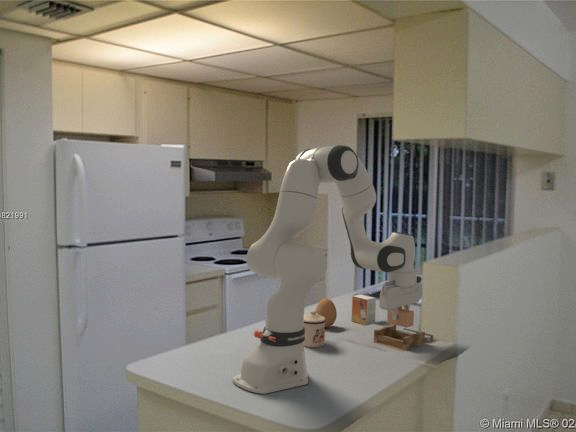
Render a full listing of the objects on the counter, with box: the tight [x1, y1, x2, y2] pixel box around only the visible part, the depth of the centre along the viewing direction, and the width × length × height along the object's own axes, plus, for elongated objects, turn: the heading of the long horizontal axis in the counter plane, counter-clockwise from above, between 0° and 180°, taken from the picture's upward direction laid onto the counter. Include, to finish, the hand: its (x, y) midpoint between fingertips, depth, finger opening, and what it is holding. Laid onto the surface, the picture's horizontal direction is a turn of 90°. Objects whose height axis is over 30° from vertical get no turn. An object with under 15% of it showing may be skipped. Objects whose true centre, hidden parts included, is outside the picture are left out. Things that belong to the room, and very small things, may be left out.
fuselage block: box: [386, 306, 415, 329], centre depth 189 cm, size 4×8×6 cm, turn 44°
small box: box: [351, 294, 377, 326], centre depth 220 cm, size 8×6×10 cm
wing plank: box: [399, 328, 432, 343], centre depth 196 cm, size 2×12×2 cm, turn 44°
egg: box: [315, 298, 338, 329], centre depth 212 cm, size 8×8×11 cm
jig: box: [372, 324, 436, 352], centre depth 192 cm, size 20×13×5 cm, turn 134°
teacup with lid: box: [303, 310, 326, 348], centre depth 191 cm, size 12×9×12 cm
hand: (399, 318), depth 190 cm, fingers closed on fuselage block, 4 cm apart
